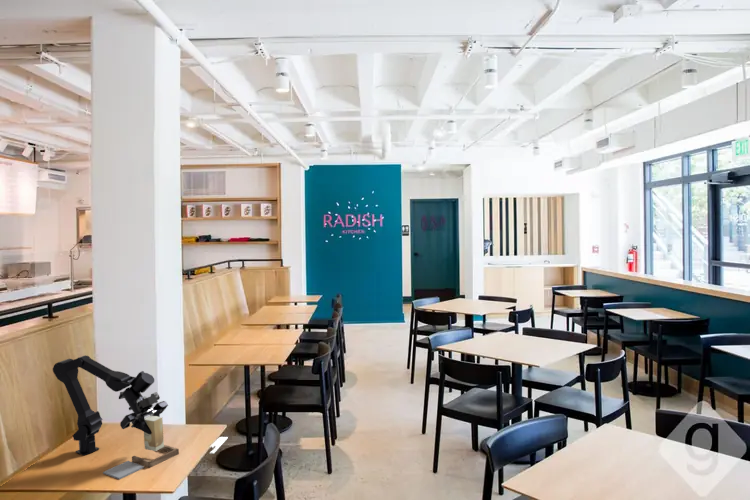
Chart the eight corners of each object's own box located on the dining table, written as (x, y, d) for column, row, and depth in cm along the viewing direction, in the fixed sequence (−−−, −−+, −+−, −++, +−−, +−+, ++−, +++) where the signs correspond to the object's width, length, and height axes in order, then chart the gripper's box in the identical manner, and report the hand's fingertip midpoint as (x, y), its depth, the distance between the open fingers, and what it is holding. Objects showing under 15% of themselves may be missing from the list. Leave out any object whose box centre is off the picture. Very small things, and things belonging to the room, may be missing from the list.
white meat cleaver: (201, 454, 199) (201, 451, 199) (216, 439, 214) (216, 436, 214) (213, 454, 199) (213, 451, 199) (228, 439, 214) (228, 436, 214)
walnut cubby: (132, 461, 194) (131, 456, 194) (161, 448, 205) (160, 443, 205) (149, 467, 188) (149, 462, 188) (178, 453, 200) (178, 448, 199)
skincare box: (144, 449, 196) (141, 419, 196) (153, 445, 200) (150, 415, 200) (156, 451, 193) (153, 420, 193) (165, 446, 197) (162, 416, 197)
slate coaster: (103, 473, 185) (103, 471, 185) (128, 462, 193) (128, 460, 193) (119, 479, 180) (119, 477, 180) (144, 467, 188) (144, 466, 188)
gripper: (123, 395, 189) (145, 428, 185) (164, 381, 206) (184, 411, 202) (111, 412, 193) (131, 445, 189) (151, 397, 210) (171, 427, 205)
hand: (155, 431), depth 196 cm, fingers closed on skincare box, 4 cm apart
